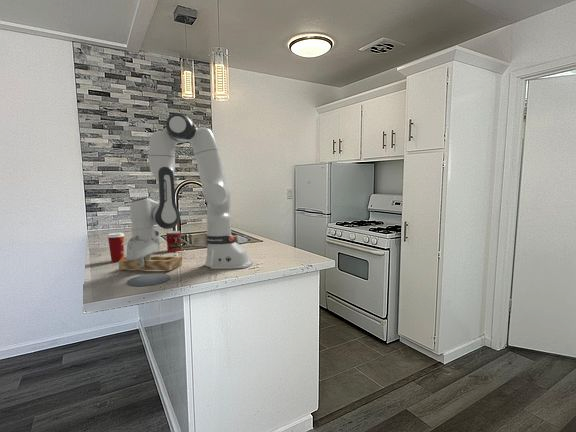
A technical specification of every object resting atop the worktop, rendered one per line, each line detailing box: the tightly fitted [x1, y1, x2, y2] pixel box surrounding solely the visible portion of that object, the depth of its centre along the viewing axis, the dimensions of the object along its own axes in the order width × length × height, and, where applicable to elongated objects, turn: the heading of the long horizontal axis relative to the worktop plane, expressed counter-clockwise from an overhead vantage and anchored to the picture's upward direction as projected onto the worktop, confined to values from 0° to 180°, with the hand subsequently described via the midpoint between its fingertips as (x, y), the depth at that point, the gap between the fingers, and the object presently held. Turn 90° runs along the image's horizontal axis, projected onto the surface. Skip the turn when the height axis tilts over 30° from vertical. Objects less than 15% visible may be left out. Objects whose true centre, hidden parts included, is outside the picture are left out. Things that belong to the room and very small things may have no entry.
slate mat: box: [126, 272, 171, 287], centre depth 130 cm, size 16×16×1 cm
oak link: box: [118, 255, 183, 271], centre depth 149 cm, size 24×12×4 cm, turn 82°
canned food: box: [166, 230, 182, 253], centre depth 186 cm, size 8×8×11 cm
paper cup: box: [107, 232, 125, 263], centre depth 163 cm, size 8×8×14 cm
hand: (145, 265), depth 144 cm, fingers closed on oak link, 2 cm apart
